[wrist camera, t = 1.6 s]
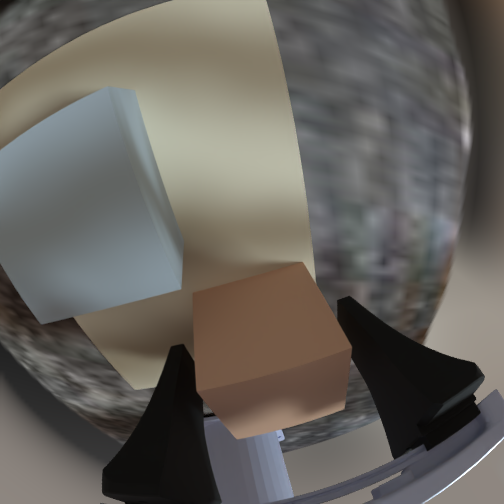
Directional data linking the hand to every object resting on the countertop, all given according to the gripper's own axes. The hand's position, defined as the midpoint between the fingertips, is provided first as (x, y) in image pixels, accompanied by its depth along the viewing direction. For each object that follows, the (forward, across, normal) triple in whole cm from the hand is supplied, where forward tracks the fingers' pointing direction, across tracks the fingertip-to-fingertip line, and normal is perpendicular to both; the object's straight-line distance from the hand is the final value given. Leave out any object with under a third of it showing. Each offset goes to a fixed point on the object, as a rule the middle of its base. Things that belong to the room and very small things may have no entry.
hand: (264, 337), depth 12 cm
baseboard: (+2, +3, -5) cm, 6 cm away
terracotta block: (+1, 0, 0) cm, 1 cm away
